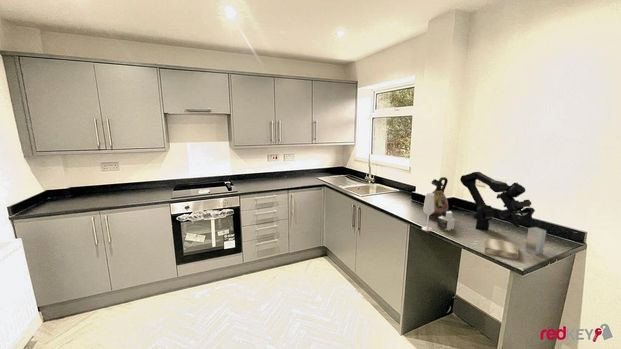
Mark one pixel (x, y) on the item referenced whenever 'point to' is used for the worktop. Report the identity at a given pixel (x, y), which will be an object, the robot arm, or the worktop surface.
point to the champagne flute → (428, 208)
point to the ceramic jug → (439, 197)
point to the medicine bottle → (446, 220)
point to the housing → (535, 240)
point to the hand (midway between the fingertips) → (525, 226)
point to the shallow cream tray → (500, 248)
